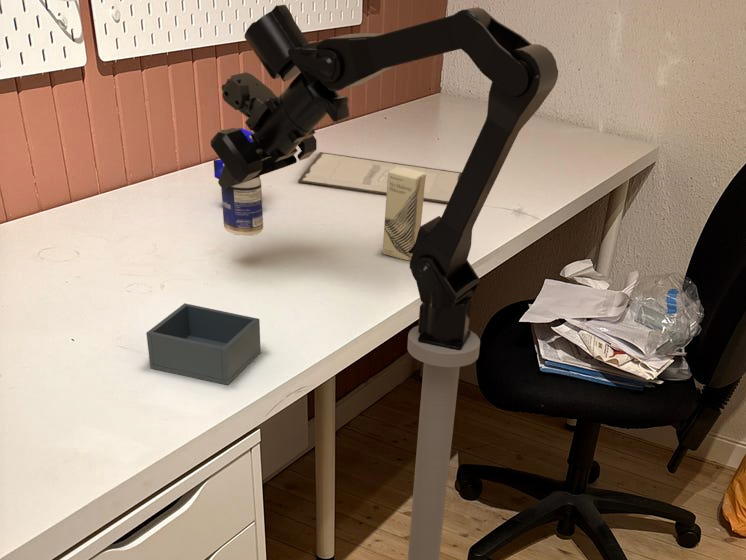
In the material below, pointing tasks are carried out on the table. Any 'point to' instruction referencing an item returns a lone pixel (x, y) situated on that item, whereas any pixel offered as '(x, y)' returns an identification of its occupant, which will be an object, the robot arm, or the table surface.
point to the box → (403, 211)
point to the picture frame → (374, 175)
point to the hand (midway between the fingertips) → (233, 181)
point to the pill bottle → (243, 208)
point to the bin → (204, 343)
